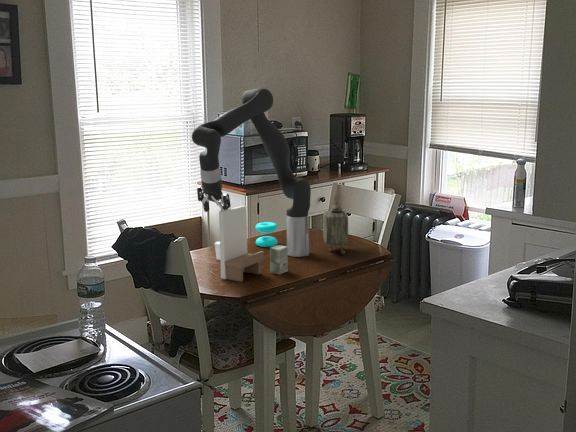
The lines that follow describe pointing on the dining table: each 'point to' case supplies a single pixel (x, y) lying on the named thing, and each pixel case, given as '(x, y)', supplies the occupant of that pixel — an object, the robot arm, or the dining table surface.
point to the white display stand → (236, 245)
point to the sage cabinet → (278, 259)
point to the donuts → (266, 240)
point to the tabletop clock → (335, 226)
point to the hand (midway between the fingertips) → (215, 213)
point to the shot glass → (217, 249)
